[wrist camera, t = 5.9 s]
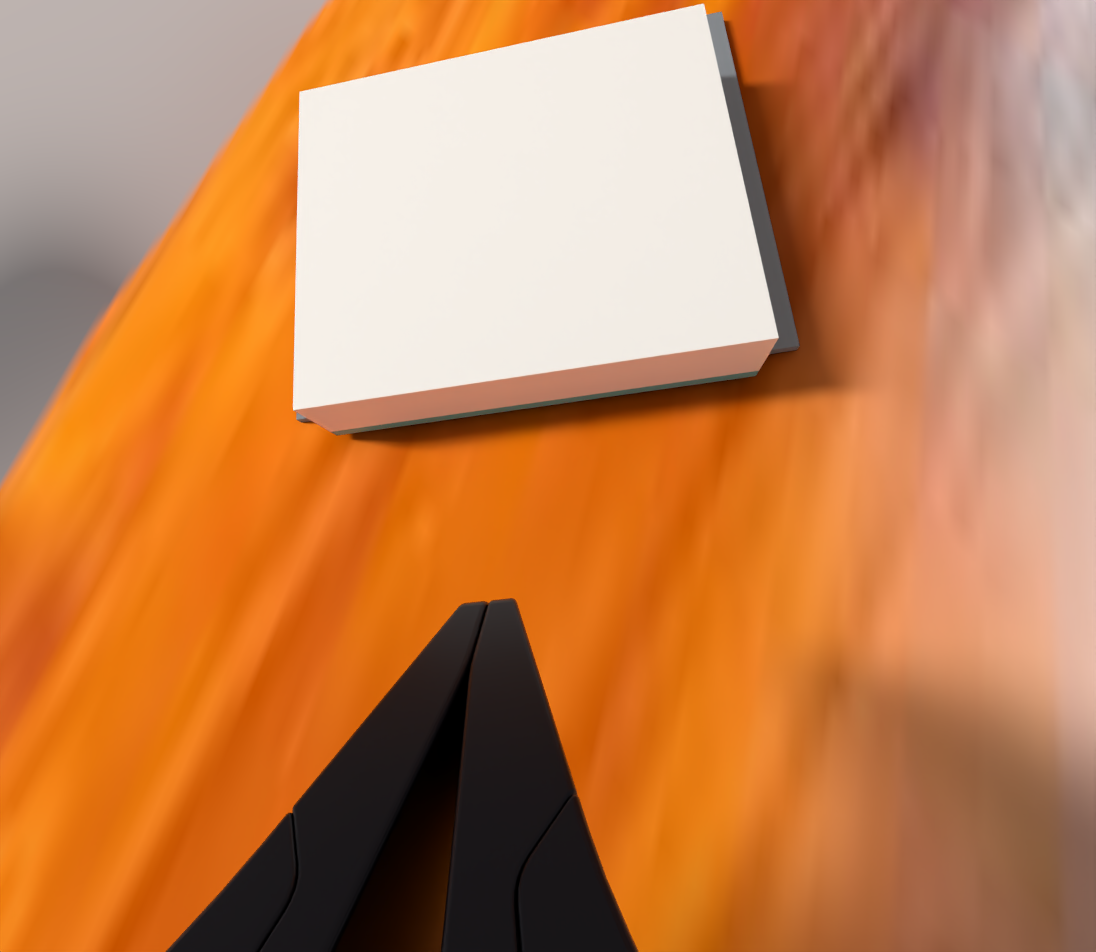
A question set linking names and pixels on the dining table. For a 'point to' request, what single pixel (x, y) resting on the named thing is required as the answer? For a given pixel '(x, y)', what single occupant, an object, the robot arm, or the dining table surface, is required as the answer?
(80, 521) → the dining table surface
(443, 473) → the dining table surface
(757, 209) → the slate mat
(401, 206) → the tile
